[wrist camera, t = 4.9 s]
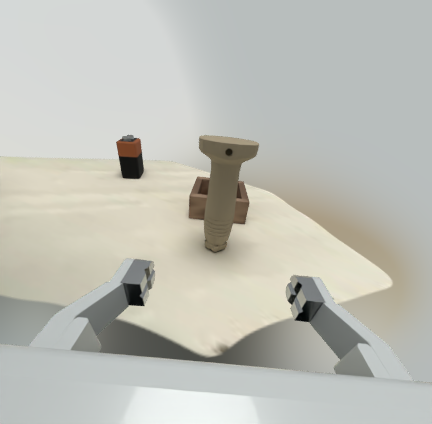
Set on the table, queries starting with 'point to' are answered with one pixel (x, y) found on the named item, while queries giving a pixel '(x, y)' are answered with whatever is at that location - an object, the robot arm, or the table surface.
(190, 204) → the brown square open box
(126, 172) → the battery
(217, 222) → the handle
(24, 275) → the table surface
